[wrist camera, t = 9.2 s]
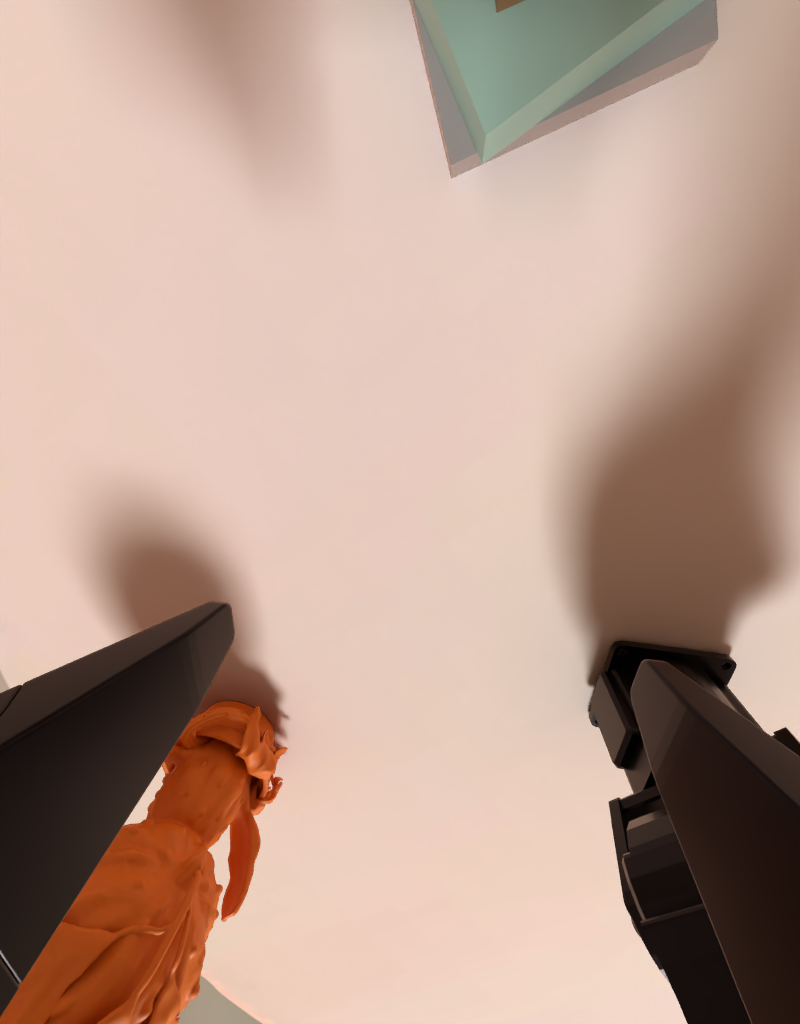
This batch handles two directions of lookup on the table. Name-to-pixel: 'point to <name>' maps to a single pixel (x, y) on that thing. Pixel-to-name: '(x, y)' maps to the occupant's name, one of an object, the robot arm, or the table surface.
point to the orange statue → (160, 884)
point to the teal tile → (533, 55)
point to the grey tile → (634, 73)
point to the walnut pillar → (505, 4)
